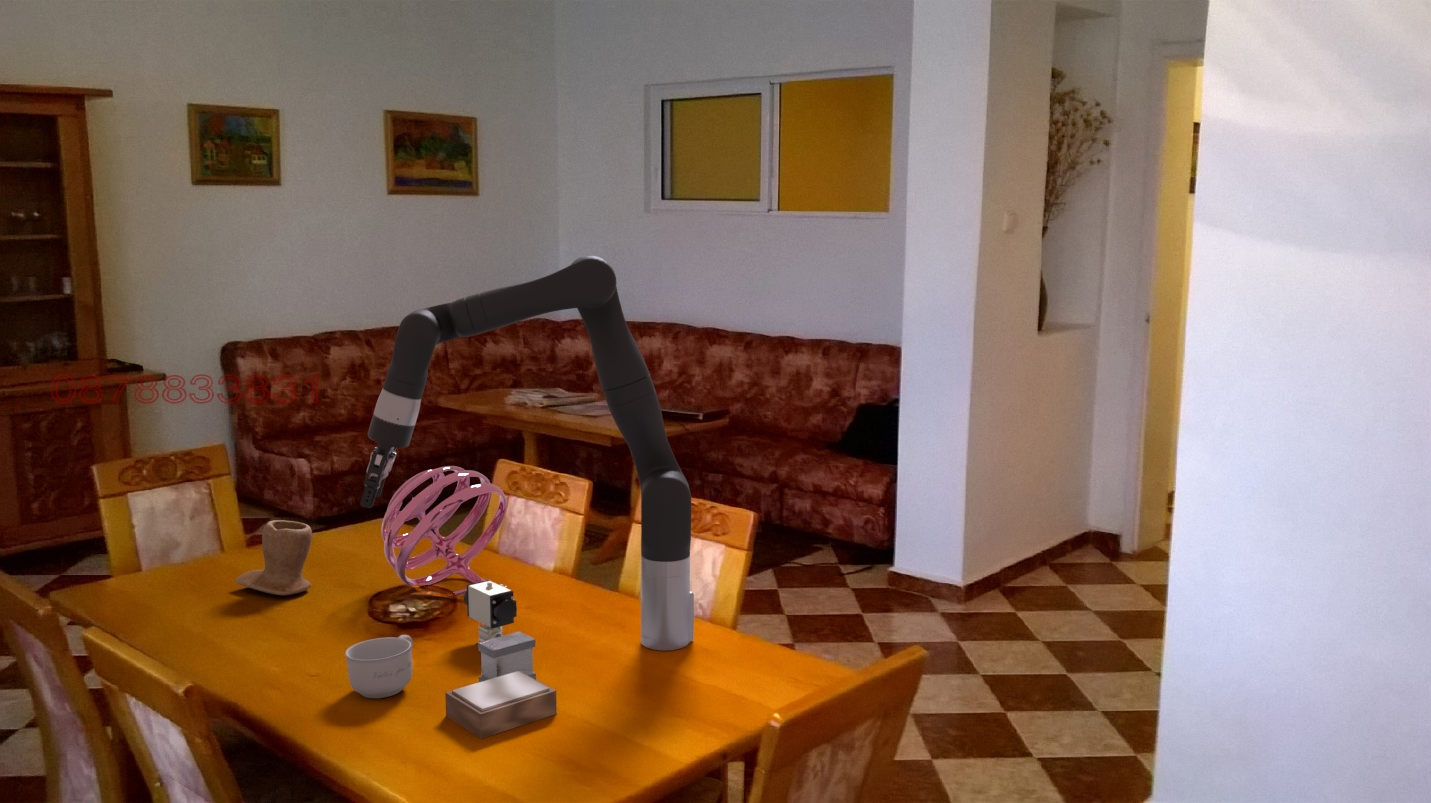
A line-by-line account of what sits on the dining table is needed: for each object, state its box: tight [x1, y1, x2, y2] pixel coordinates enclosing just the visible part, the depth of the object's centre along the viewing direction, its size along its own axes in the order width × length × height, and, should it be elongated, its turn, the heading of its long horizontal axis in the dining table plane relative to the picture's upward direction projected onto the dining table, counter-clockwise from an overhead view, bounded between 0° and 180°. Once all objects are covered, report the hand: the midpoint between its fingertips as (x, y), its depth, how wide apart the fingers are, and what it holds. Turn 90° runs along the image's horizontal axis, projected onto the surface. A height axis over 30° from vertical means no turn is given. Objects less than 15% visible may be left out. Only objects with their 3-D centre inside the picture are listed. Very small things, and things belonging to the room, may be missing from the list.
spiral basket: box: [381, 465, 508, 597], centre depth 252 cm, size 28×28×27 cm
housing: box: [477, 630, 537, 683], centre depth 203 cm, size 8×5×8 cm, turn 132°
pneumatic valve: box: [463, 579, 518, 642], centre depth 222 cm, size 6×12×12 cm, turn 42°
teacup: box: [344, 634, 414, 699], centre depth 200 cm, size 14×11×8 cm
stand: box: [444, 671, 558, 739], centre depth 190 cm, size 14×11×4 cm
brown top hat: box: [235, 519, 313, 596], centre depth 251 cm, size 15×12×15 cm
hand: (369, 501), depth 213 cm, fingers open, 8 cm apart
